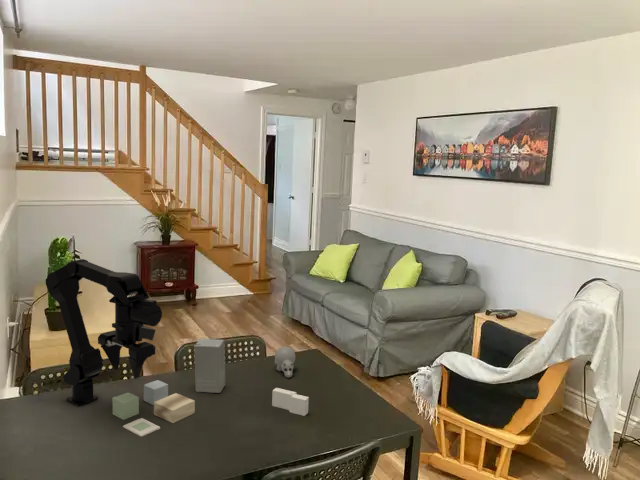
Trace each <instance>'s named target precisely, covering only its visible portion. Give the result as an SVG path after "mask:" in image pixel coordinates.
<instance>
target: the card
mask: <svg viewBox="0 0 640 480" xmlns="http://www.w3.org/2000/svg"><path fill="white" fill-rule="evenodd" d="M122 428H124V429H126V430H127V431H129V432H131V433H133V434H135V435H137V436H139V437H144V436H147V435H148V434H151V433H153V432H156V431H158V430H160V429H161V426H159V425H156V424H155V423H153V422H151V421H149V420H147V419H145V418H143V417H141V418H138V419H135V420H133V421H130V422H128V423H126V424H124V425H123V426H122Z"/></svg>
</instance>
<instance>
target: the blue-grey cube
mask: <svg viewBox="0 0 640 480" xmlns="http://www.w3.org/2000/svg"><path fill="white" fill-rule="evenodd" d="M168 396H169V384H168V383H166V382H164V381H161V380H159V379H157V380H153V381H151V382H147V383H145V384H143V402H144V401H145V403H148V404H150V405H152V406H154V402H156V401H158V400H160V399H163V398H165V397H168Z"/></svg>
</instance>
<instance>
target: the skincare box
mask: <svg viewBox="0 0 640 480" xmlns="http://www.w3.org/2000/svg"><path fill="white" fill-rule="evenodd" d="M193 351H194V383H195V384H194V386H195V392H197V393H211V394H212V393H214V394H215V393H216V394H220V393H221V392H222V391H223V389H224V388H225V386H226V356H225V354H226V353H225V351H226V350H225V339H211V338H210V339H209V338H200V339H199V340H198V341H197V342H196V344H194V345H193Z"/></svg>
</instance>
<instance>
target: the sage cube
mask: <svg viewBox="0 0 640 480" xmlns="http://www.w3.org/2000/svg"><path fill="white" fill-rule="evenodd" d="M139 401H140V397H139V396H137V395H135V394H133V393H131V392H126V393H125V392H124V393H122V394H118V395H116V396H113V397H112V415H114V416H116V417H117V418H119V419H121V420H127V419H129V418H131V417H134V416H136V415H139V414H140V406H139V405H140V404H139Z"/></svg>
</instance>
